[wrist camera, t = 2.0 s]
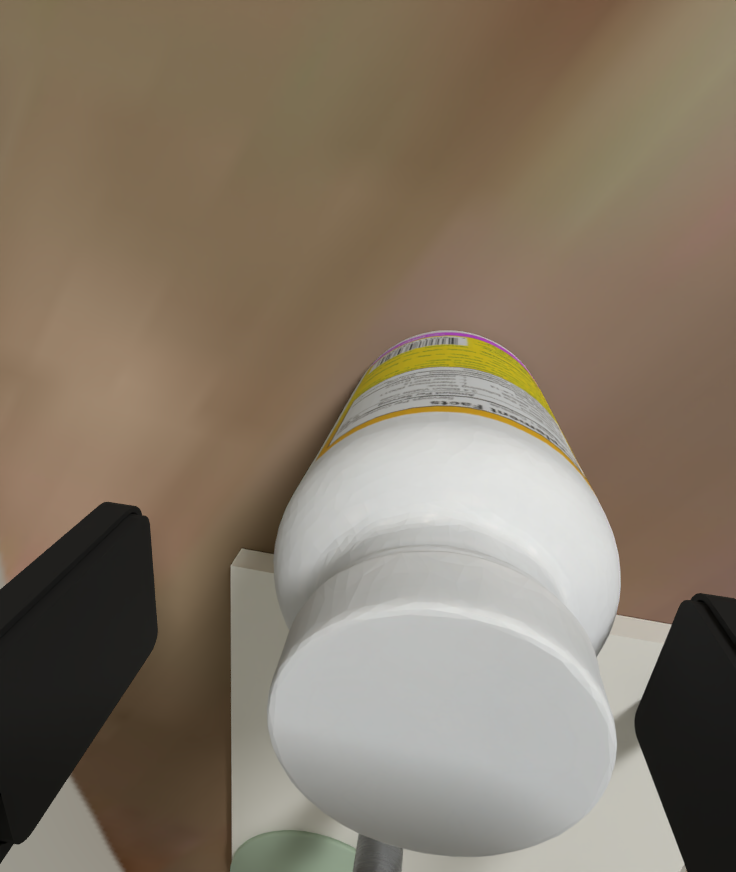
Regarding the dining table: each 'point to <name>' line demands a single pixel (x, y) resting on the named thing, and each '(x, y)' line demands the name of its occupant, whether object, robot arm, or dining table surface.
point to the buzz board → (336, 846)
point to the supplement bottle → (446, 611)
